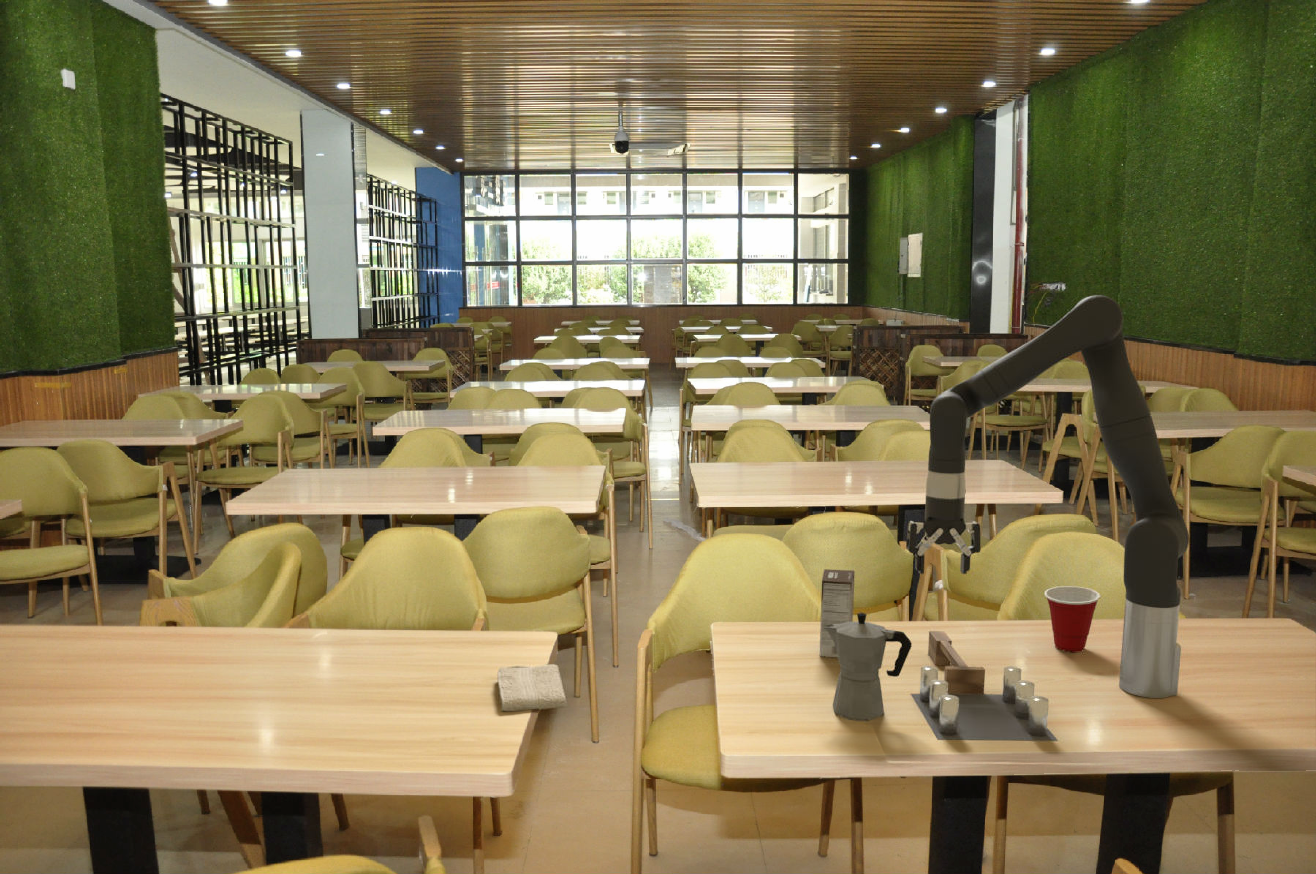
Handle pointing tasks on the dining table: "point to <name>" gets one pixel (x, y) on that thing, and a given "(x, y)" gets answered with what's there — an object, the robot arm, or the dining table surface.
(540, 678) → the washcloth
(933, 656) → the wooden mallet
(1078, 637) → the plastic cup
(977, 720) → the spacer mat
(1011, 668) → the steel spacers
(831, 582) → the coffee box
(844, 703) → the coffeepot
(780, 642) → the dining table surface
